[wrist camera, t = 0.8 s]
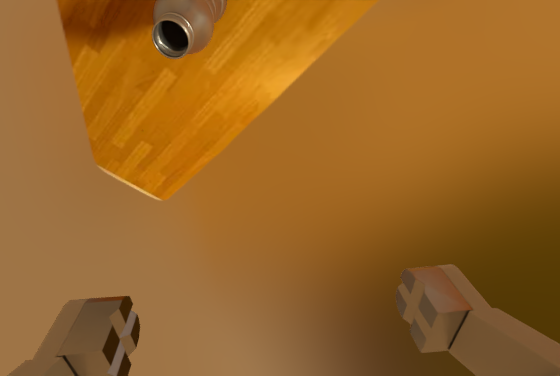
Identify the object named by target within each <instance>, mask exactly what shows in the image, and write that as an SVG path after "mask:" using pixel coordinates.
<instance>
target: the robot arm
mask: <svg viewBox="0 0 560 376" xmlns="http://www.w3.org/2000/svg"><path fill="white" fill-rule="evenodd" d="M401 279H402V281H403V283H402V284H401V285H400V286H399V287H398V288H397V292H396V303H397V306H398V310H399V312H400V314H401V316H402V318H403V319H405V320H406V321H407V322H409V323H410V324H411V327H410V333H411V335H412V337H413V339H414V340H415V342H416V344H417V346H418V348H419V350H420V352H421V353H425V352H435V351H445V350H446V351H447V350H449V353H450V354H452V355H453V356H454V357H455V358H456V359H457V360H459V361H460V362H461V363H462V364H463V365H464V366H465V367H467V368H468V369H469V370H470V371H471V372H472V373H474V374H475V375H476V376H560V344H559V343H557V342H555V341H553V340H552V339H550V338H548V337H546V336H545V335H543V334H541V333H539V332H538V331H536V330H534V329H532V328H531V327H529V326H527V325H525V324H524V323H522V322H520V321H518V320H517V319H515V318H513V317H511V316H510V315H508V314H506V313H504V312H503V311H501V310H499V309H497V308H491V307H490V306H489V305H488V303H487V302H486V301H485V300H484V299H483V298H482V296H481V295H480V294H479V293H478V292H477V290H476V289H475V288H474V287H473V286H472V285H471V283H470V282H469V281H468V280H467V279H466V277H465V276H464V275H463V274H462V273H461V272H460V270H459V269H458V268H457V267H456V266H454V265H452V264H451V265H441V266H428V267H419V268H410V269H405V270H404V271H403V272H402V274H401ZM132 305H133V303H132V301H131V298H130V297H129V296H120V297H105V298H90V299H79V300H70V301H69V302H67V303H66V304H65V305H64V306H63V308H62V310H61V311H60V313H59V315H58V317H57V318H56V320H55V322H54V323H53V325H52V327H51V329H50V330H49V332H48V334H47V335H46V337H45V339H44V341H43V342H42V344H41V346H40V347H39V349H38V351H37V353H36V354H35V356H34V358H33V360H27V361H25V362H24V363H22V364H21V365H20V366H19V367H17V368H16V369H15V370H14V371H13V372H11V373H10V374H9V375H8V376H128V374H129V370H130V367H131V362H130V360H129V358H128V356H129V355H130V354H131V353H132V352H133V351H134V350H135V349H136V347H137V343H138V339H139V332H140V324H139V318H138V315H137V314H136V313H135V312H133V311H131V308H132Z"/></svg>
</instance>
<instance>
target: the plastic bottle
mask: <svg viewBox="0 0 560 376" xmlns="http://www.w3.org/2000/svg"><path fill="white" fill-rule="evenodd" d="M226 5H227V0H156V2H155V5H154V9H153V22H154V26H153V30H152V40H153V43H154V45H155V47H156V48H157V50H158V51H159V52H160V53H161V54H162V55H164V56H166V57H167V58H171V59H179V58H182V57H183V56H185V55H186V54H193V53H197V52H199V51H201V50H203V49H204V48H205V47H206V46H207V45H208V43H209V42H210V40H211V37H212V34H213V29H214V23H215V22H217V21H218V20H219V19H220V18H221V17H222V16H223V14H224V12H225V10H226Z"/></svg>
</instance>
